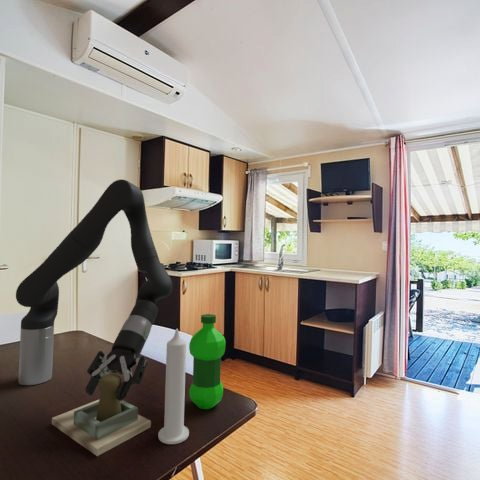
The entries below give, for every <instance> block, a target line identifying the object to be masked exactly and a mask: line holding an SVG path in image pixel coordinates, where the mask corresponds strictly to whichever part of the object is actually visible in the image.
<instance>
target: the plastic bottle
mask: <svg viewBox="0 0 480 480" xmlns="http://www.w3.org/2000/svg"><path fill="white" fill-rule="evenodd" d="M216 322H217V315H216V314H209V313H206V314H202V315H200V323H202V327H201V328H200V329H199V330H198V331H197V332H195V334H193V336H192V337H191V339H190V341H189V344H188V345H189V347H188V349H189V354H190V355H191V356H192V357H193V368H192V382H191V385H190V388H189V389H188V396H189V399H190V401H192V402H193V403H194V404H195V406H196V407H198V408H199V409H202V410H209V409H212V408H214V407H215V406H216V405H217V404H218V403H220V402H221V401H222V399H223V396H224V386H223V382H222V380H221V362H222V360H221V359H222V357H223V356H224V355H225V352H226V338H225V336H224V335H223V334H222V333H221V332H220V331H219V330H218V329H216V328H215V327H214V326H215V324H216Z"/></svg>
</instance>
